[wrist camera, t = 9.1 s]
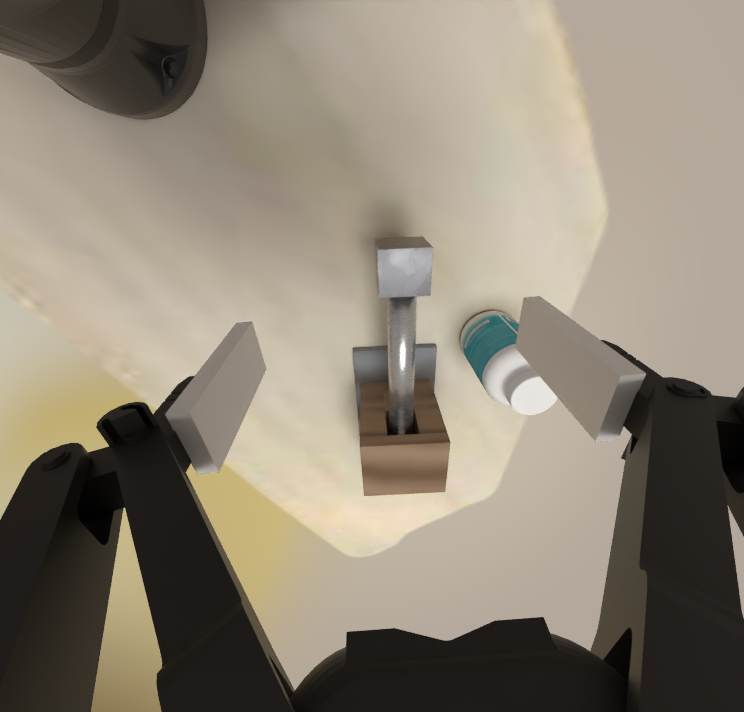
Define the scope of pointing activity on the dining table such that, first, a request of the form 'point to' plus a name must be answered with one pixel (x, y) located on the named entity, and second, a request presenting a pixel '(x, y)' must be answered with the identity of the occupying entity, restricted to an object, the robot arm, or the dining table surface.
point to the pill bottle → (504, 364)
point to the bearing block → (399, 452)
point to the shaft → (402, 318)
